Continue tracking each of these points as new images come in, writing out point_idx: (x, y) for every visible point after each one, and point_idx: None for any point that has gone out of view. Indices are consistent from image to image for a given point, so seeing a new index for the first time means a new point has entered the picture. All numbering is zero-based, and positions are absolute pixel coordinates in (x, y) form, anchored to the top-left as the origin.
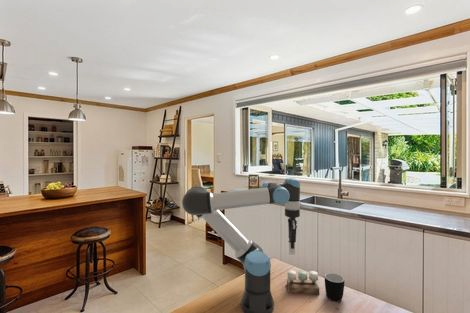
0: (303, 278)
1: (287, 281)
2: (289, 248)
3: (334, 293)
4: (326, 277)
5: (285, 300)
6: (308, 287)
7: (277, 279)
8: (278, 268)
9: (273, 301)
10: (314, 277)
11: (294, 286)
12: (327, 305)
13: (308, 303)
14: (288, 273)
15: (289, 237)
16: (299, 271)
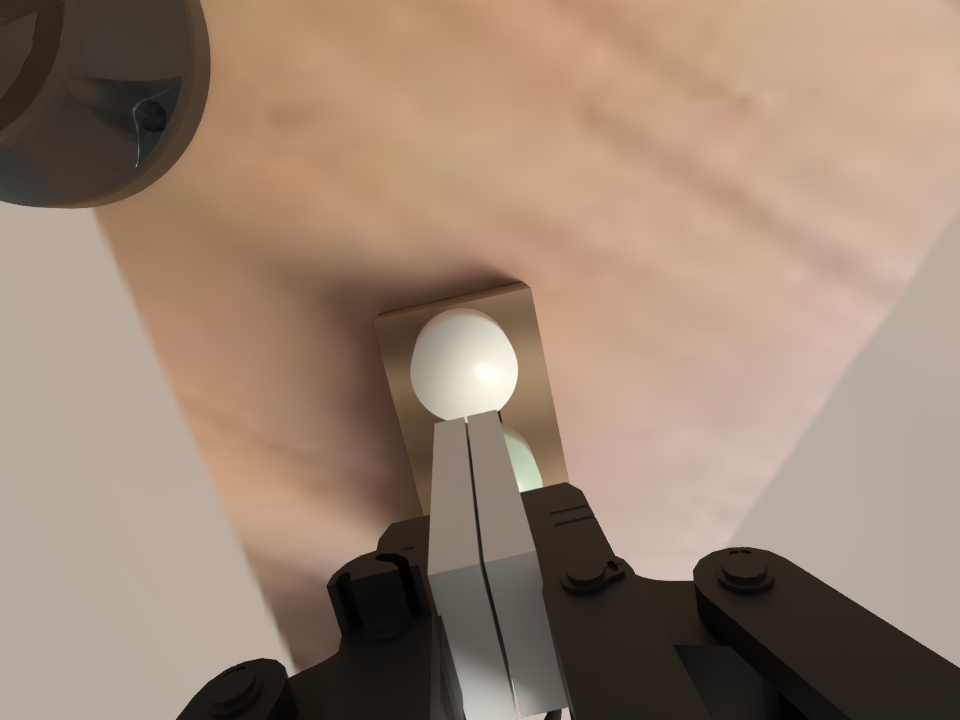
0: None
1: (481, 298)
2: (454, 466)
3: None
4: (464, 714)
5: (251, 293)
6: (427, 498)
7: (597, 177)
8: (839, 159)
9: (54, 199)
10: None
11: (404, 373)
12: (306, 607)
13: (280, 478)
14: (427, 333)
15: (572, 637)
16: (511, 457)
